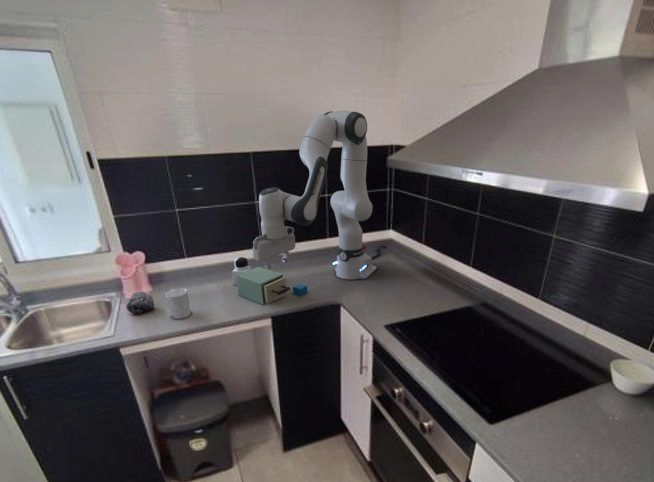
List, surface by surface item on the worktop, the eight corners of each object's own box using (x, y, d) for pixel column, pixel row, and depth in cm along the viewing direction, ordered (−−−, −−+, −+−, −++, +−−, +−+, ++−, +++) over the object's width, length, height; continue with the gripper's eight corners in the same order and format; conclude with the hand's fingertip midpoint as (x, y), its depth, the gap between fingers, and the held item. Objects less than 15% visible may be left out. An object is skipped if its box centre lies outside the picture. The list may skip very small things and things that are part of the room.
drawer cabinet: (284, 294, 168) (282, 274, 164) (263, 304, 160) (260, 283, 155) (260, 285, 177) (258, 266, 172) (239, 295, 168) (236, 275, 163)
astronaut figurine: (253, 279, 183) (250, 256, 177) (248, 285, 177) (245, 261, 171) (239, 279, 183) (235, 255, 178) (233, 285, 177) (230, 261, 171)
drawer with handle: (295, 297, 164) (293, 280, 160) (276, 306, 156) (274, 289, 152) (264, 286, 174) (262, 270, 170) (244, 294, 166) (242, 278, 162)
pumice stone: (141, 322, 152) (161, 306, 158) (131, 308, 147) (152, 292, 153) (126, 315, 157) (146, 300, 162) (116, 301, 152) (137, 286, 157)
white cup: (171, 312, 154) (165, 290, 150) (191, 309, 157) (186, 286, 152) (171, 321, 148) (165, 298, 143) (192, 317, 150) (187, 294, 146)
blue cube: (300, 290, 171) (299, 283, 170) (307, 293, 169) (307, 285, 167) (293, 294, 168) (292, 286, 167) (300, 296, 166) (300, 289, 164)
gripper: (258, 240, 138) (262, 275, 145) (296, 227, 153) (298, 260, 159) (247, 237, 142) (251, 271, 148) (285, 225, 156) (287, 257, 163)
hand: (276, 265), depth 154 cm, fingers open, 8 cm apart
